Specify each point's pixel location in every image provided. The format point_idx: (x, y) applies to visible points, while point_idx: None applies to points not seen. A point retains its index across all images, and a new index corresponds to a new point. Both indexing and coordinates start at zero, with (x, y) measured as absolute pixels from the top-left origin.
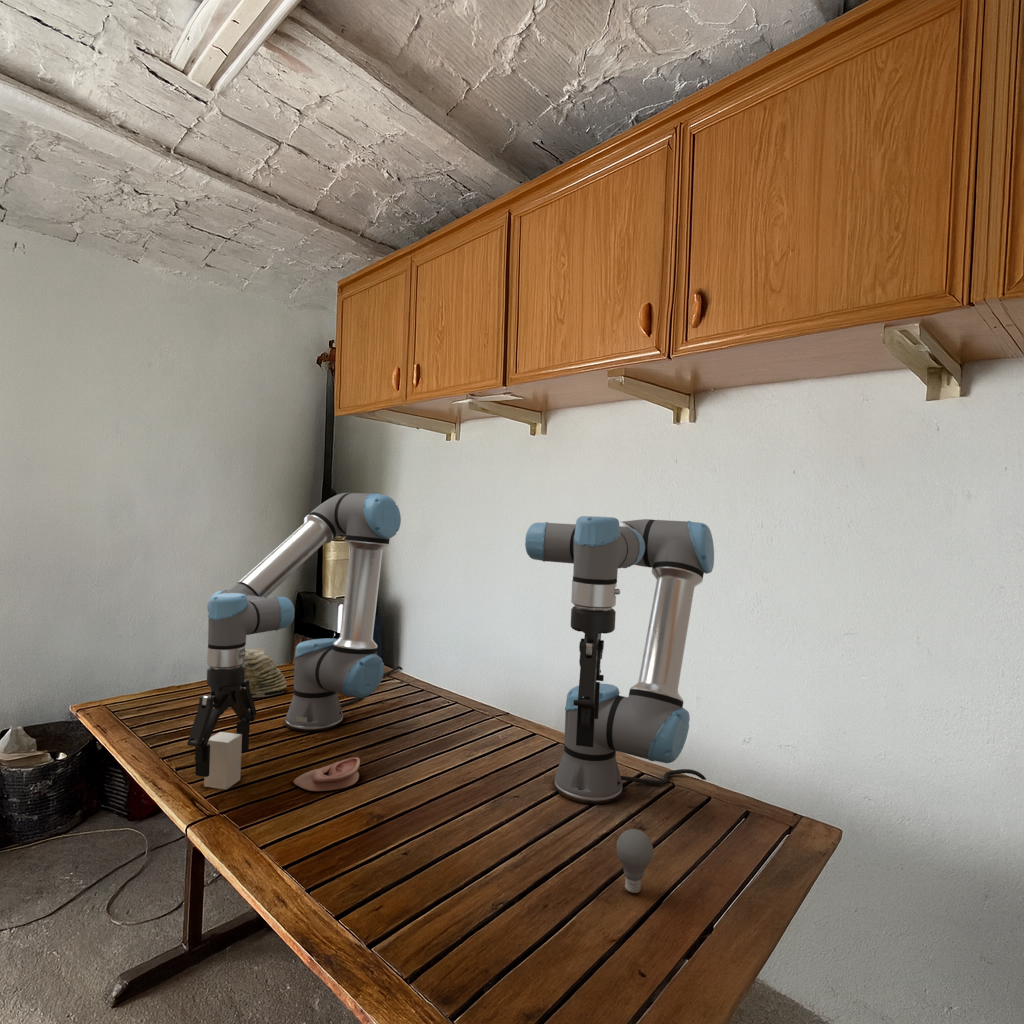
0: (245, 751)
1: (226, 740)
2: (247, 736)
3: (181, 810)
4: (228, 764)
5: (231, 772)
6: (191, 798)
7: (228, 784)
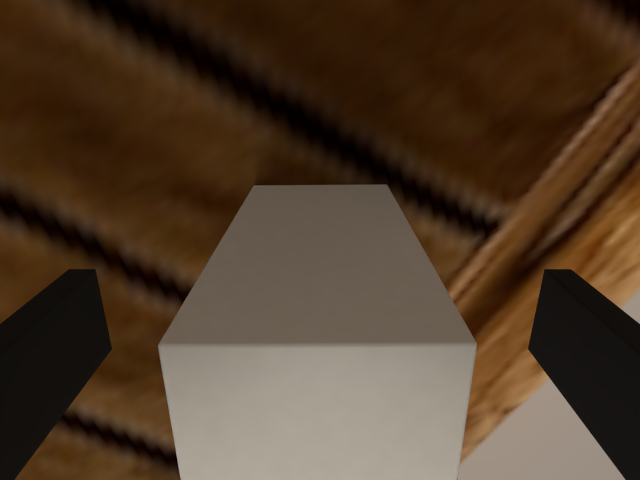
0: (96, 278)
1: (411, 397)
2: (9, 338)
3: (637, 253)
4: (397, 233)
5: (347, 209)
6: (509, 287)
7: (371, 189)
